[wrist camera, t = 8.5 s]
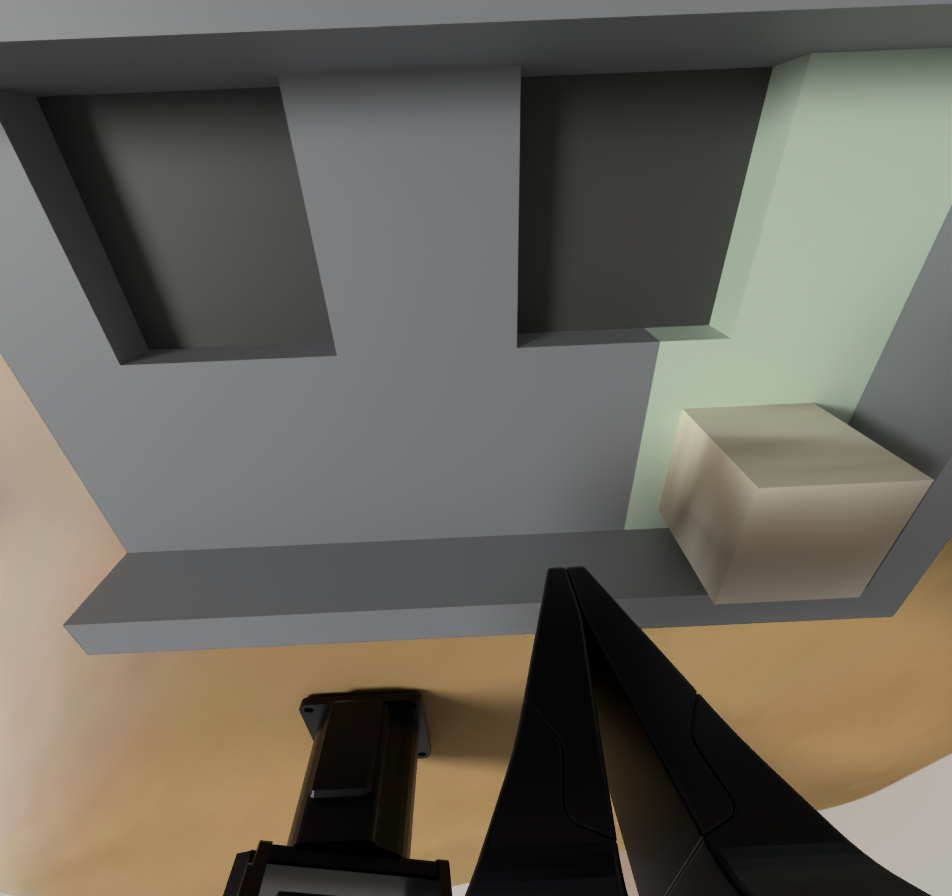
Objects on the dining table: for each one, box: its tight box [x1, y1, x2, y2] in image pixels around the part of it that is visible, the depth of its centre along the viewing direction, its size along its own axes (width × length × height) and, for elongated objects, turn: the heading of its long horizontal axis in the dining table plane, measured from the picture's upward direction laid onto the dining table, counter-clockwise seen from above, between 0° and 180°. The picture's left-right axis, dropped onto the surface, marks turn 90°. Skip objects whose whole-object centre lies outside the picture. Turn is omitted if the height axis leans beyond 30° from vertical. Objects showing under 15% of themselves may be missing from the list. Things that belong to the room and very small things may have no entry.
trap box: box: [0, 0, 952, 655], centre depth 12 cm, size 16×26×4 cm, turn 92°
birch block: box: [659, 403, 934, 604], centre depth 13 cm, size 4×4×4 cm
